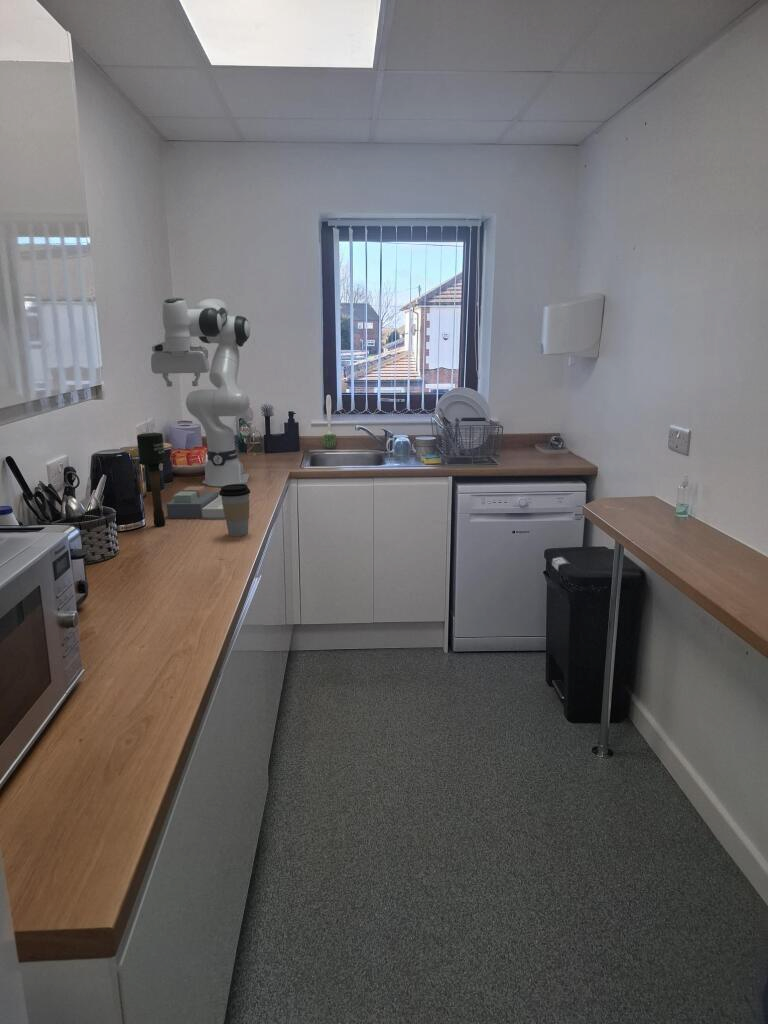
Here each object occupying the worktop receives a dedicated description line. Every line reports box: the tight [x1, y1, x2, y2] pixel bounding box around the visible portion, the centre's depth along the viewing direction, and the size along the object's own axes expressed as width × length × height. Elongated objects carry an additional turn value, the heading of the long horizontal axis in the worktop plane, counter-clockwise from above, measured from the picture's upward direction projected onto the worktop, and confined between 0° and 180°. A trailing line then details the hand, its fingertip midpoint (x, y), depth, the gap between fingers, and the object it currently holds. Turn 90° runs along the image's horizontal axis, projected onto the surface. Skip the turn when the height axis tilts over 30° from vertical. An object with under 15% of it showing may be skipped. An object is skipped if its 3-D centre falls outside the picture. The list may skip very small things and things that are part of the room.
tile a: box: [182, 485, 206, 497], centre depth 238 cm, size 6×6×2 cm
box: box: [201, 495, 225, 520], centre depth 234 cm, size 20×10×4 cm, turn 175°
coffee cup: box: [218, 483, 251, 537], centre depth 206 cm, size 9×9×15 cm
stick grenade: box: [136, 432, 168, 528], centre depth 215 cm, size 8×9×30 cm
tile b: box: [173, 490, 198, 503], centre depth 230 cm, size 6×6×2 cm
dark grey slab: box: [165, 491, 220, 519], centre depth 235 cm, size 18×12×5 cm, turn 175°
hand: (182, 386), depth 238 cm, fingers open, 8 cm apart
